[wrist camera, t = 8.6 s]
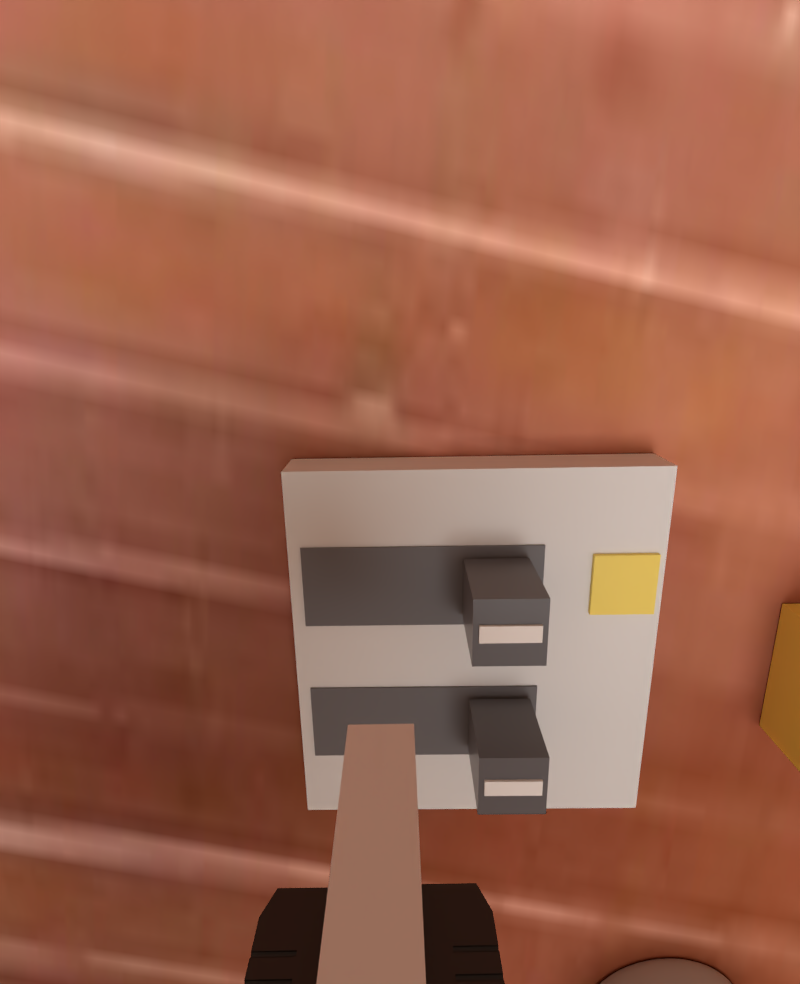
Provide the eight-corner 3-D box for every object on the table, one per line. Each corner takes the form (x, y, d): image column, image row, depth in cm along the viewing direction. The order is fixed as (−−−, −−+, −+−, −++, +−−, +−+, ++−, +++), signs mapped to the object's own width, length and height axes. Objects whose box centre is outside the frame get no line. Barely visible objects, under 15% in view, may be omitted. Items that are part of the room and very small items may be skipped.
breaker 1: (462, 617, 22) (472, 668, 19) (463, 558, 21) (473, 600, 18) (526, 617, 22) (547, 667, 19) (529, 558, 21) (551, 600, 18)
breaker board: (314, 774, 27) (307, 813, 25) (291, 459, 22) (279, 473, 20) (618, 772, 26) (637, 811, 24) (654, 453, 22) (679, 467, 20)
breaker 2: (468, 749, 23) (478, 816, 20) (469, 699, 23) (479, 760, 20) (527, 749, 23) (546, 816, 20) (530, 698, 23) (550, 759, 20)
